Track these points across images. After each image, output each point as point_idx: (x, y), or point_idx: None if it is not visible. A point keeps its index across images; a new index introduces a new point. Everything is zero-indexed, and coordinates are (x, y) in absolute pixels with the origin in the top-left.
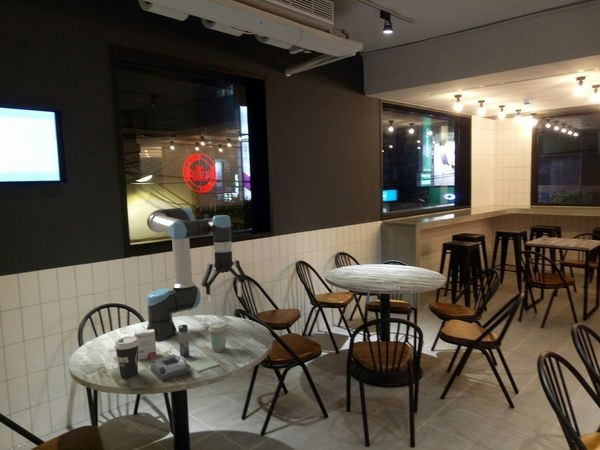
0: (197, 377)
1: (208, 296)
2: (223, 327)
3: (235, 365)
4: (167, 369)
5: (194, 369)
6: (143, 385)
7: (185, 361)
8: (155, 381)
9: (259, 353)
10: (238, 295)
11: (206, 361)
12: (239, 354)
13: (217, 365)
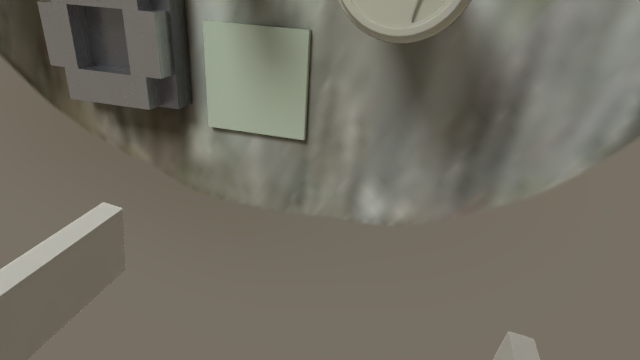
0: (196, 159)
1: (56, 238)
2: (411, 37)
3: (352, 192)
4: (80, 98)
5: (208, 99)
6: (33, 63)
7: (162, 77)
8: None
9: (514, 184)
10: (499, 356)
11: (276, 75)
12: (442, 117)
13: (297, 137)
